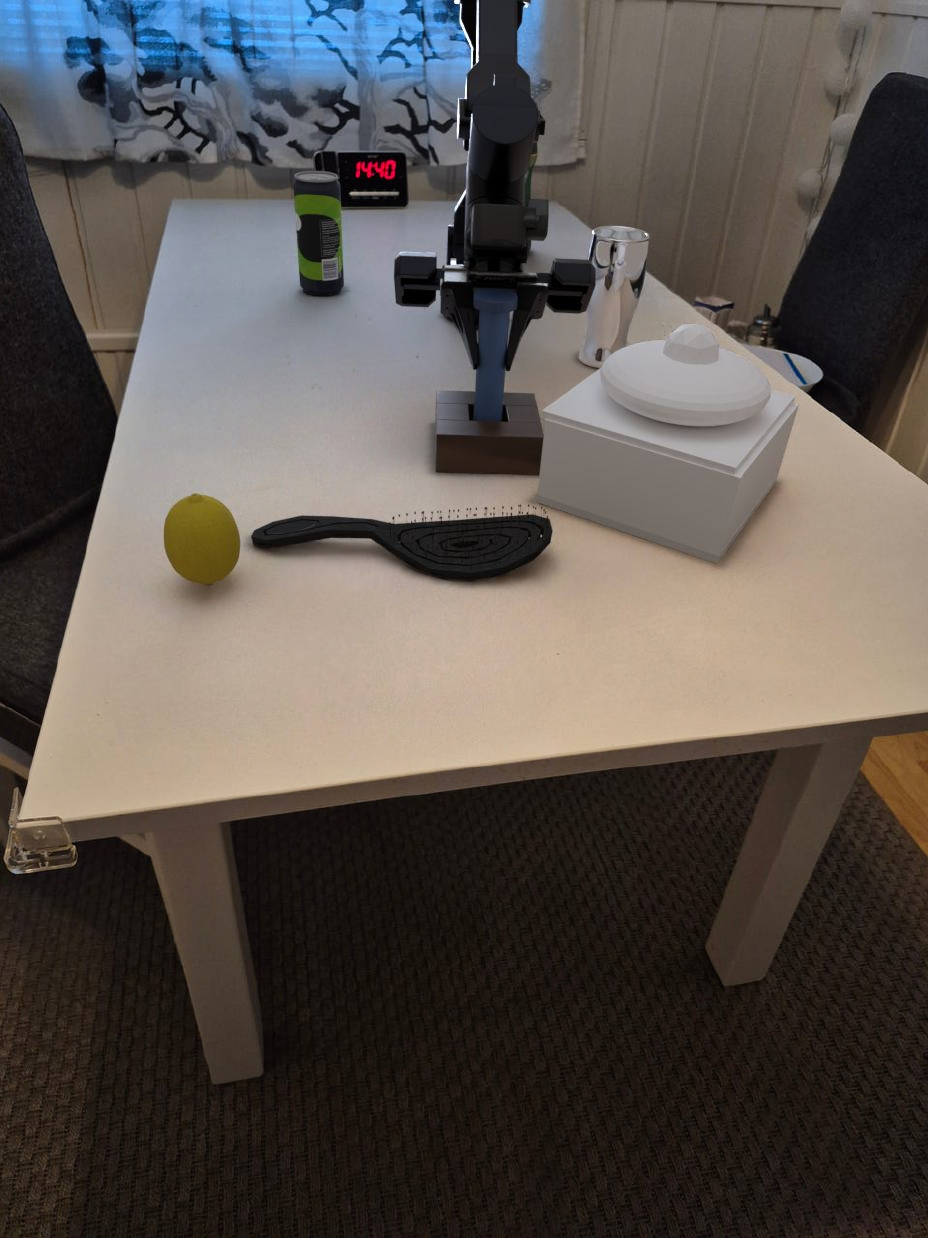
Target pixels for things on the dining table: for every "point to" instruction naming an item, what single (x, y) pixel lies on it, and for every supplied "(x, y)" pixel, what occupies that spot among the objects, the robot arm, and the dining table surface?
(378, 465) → the dining table surface
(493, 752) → the dining table surface
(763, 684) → the dining table surface
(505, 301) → the peg
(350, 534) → the hairbrush
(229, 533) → the lemon
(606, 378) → the white lidded box
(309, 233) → the beverage can
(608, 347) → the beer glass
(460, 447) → the stand
